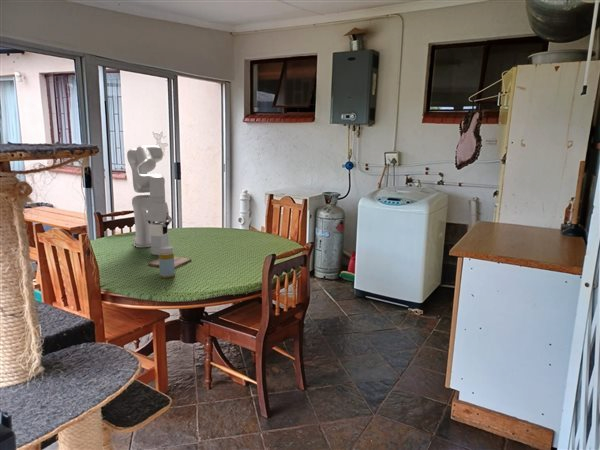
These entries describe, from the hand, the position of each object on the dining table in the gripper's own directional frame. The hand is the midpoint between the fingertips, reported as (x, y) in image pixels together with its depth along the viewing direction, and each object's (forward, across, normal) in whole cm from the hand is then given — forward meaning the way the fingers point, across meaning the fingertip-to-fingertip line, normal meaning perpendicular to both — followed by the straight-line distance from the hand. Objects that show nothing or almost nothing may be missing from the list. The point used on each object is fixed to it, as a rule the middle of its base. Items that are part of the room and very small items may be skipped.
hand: (159, 232), depth 222 cm
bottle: (+18, +13, -17) cm, 27 cm away
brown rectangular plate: (+17, +4, +3) cm, 18 cm away
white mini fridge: (+1, 0, 0) cm, 1 cm away
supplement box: (+18, -11, +18) cm, 28 cm away
